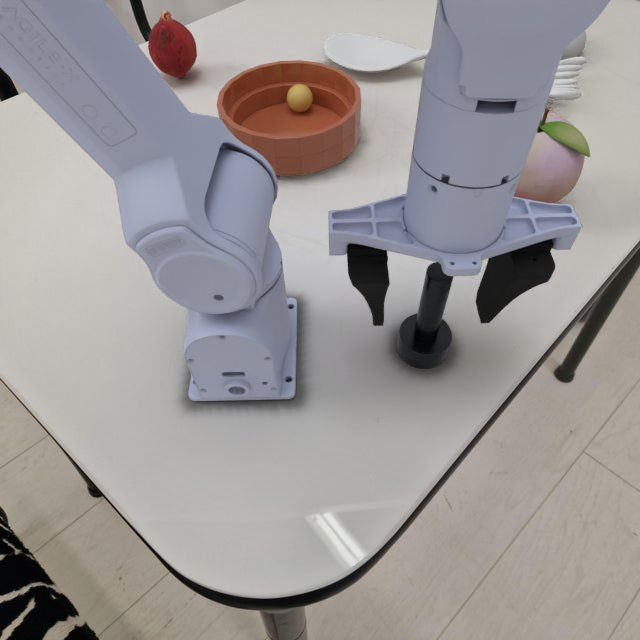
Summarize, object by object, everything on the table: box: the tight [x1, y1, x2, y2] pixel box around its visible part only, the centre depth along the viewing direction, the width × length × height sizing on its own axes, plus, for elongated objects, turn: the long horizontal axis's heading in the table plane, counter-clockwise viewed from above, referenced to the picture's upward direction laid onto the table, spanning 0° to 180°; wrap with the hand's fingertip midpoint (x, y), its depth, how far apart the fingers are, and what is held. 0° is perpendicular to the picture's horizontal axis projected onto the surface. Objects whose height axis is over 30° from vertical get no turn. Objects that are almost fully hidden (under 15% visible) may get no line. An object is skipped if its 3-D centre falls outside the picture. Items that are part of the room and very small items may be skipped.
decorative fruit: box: [514, 107, 591, 203], centre depth 47 cm, size 9×8×10 cm
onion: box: [147, 9, 198, 80], centre depth 64 cm, size 6×6×8 cm
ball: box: [287, 84, 313, 112], centre depth 59 cm, size 3×3×3 cm
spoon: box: [322, 32, 588, 101], centre depth 64 cm, size 9×32×4 cm, turn 69°
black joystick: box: [396, 261, 455, 370], centre depth 37 cm, size 4×4×9 cm
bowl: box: [216, 59, 362, 177], centre depth 56 cm, size 15×15×5 cm
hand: (429, 313), depth 37 cm, fingers open, 7 cm apart
